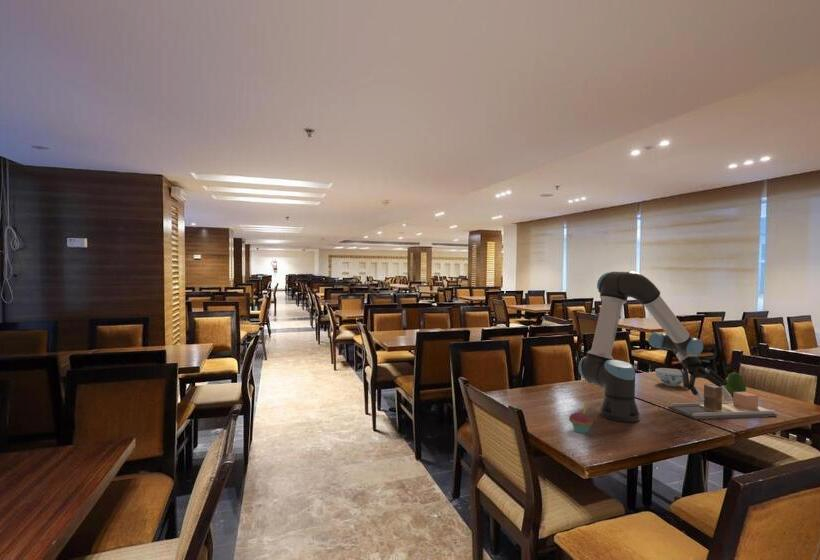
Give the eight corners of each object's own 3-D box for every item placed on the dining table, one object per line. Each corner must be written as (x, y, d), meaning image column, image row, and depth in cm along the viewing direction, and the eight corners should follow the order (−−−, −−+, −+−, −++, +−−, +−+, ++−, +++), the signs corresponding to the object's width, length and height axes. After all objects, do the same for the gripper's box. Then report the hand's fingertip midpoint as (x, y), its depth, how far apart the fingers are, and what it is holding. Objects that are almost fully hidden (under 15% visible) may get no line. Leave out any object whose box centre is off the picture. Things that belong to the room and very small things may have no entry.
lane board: (695, 419, 166) (695, 414, 166) (668, 407, 181) (668, 402, 181) (776, 416, 169) (776, 411, 169) (743, 405, 184) (743, 400, 184)
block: (745, 409, 173) (745, 395, 173) (733, 405, 179) (733, 392, 179) (758, 409, 173) (758, 395, 173) (745, 404, 179) (745, 391, 179)
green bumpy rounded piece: (729, 392, 204) (729, 370, 204) (748, 396, 198) (748, 373, 198) (723, 395, 200) (723, 372, 200) (742, 399, 193) (742, 375, 193)
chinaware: (673, 381, 228) (673, 367, 227) (694, 388, 213) (694, 374, 213) (649, 381, 227) (649, 368, 227) (668, 388, 212) (668, 374, 212)
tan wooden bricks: (717, 413, 169) (717, 389, 169) (698, 406, 179) (698, 383, 179) (770, 412, 172) (770, 387, 172) (749, 404, 182) (749, 381, 182)
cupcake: (588, 427, 157) (588, 397, 157) (596, 435, 148) (596, 404, 148) (566, 426, 158) (566, 397, 158) (572, 435, 149) (572, 403, 149)
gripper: (708, 363, 192) (736, 403, 177) (660, 364, 189) (685, 405, 175) (717, 354, 186) (747, 395, 172) (669, 356, 184) (695, 397, 169)
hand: (716, 400), depth 173 cm, fingers open, 13 cm apart
